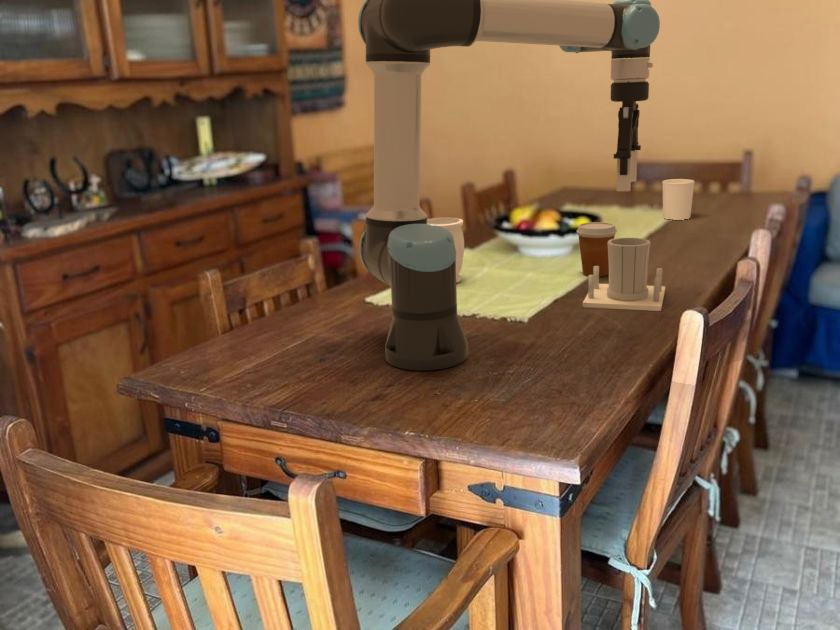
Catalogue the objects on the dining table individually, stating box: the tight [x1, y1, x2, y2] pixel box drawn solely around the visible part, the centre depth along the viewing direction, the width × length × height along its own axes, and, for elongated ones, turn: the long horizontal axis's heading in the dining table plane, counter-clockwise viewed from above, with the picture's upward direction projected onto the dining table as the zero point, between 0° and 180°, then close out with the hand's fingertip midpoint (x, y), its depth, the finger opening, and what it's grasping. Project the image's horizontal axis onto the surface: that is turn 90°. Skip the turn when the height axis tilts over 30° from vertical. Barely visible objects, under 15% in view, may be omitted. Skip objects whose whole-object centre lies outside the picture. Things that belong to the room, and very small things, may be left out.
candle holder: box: [661, 178, 695, 221], centre depth 260 cm, size 10×10×12 cm
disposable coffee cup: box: [576, 221, 618, 278], centre depth 197 cm, size 10×10×12 cm
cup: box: [607, 237, 652, 301], centre depth 175 cm, size 10×9×12 cm
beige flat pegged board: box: [582, 266, 666, 312], centre depth 176 cm, size 16×16×6 cm
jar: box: [427, 217, 465, 284], centre depth 197 cm, size 11×10×15 cm
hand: (626, 186), depth 170 cm, fingers open, 13 cm apart
